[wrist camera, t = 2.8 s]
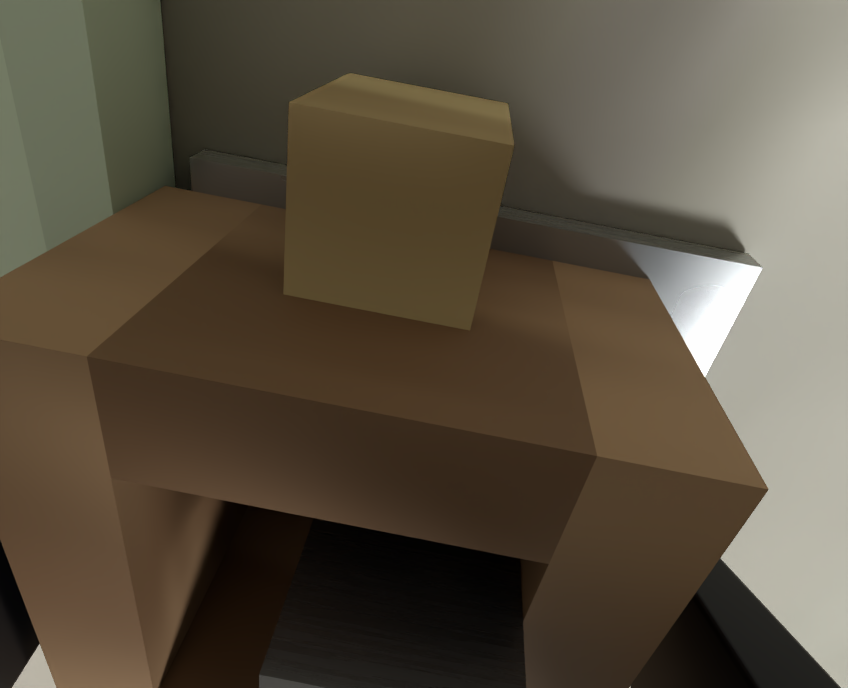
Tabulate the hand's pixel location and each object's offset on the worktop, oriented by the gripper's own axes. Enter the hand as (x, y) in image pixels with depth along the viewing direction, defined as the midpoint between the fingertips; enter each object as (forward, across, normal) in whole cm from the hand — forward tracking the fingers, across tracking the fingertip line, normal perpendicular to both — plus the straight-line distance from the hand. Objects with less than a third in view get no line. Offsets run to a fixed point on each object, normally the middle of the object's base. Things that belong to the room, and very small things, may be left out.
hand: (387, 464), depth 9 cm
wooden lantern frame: (+1, 0, 0) cm, 1 cm away
